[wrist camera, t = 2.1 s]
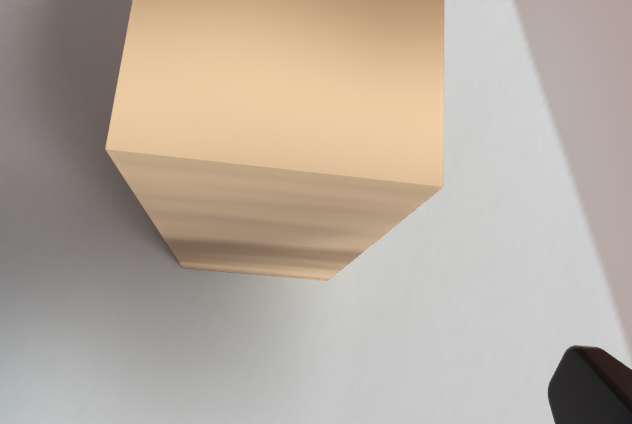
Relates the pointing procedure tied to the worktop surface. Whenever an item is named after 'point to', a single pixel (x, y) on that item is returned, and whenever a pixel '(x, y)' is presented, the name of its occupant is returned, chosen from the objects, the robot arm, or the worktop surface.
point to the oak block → (280, 127)
